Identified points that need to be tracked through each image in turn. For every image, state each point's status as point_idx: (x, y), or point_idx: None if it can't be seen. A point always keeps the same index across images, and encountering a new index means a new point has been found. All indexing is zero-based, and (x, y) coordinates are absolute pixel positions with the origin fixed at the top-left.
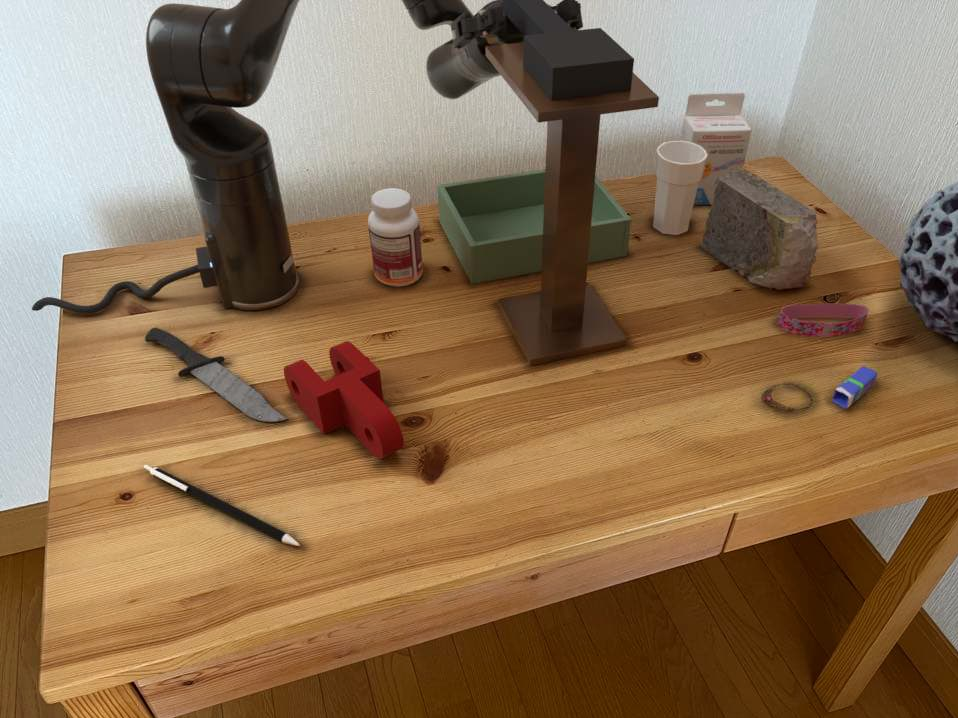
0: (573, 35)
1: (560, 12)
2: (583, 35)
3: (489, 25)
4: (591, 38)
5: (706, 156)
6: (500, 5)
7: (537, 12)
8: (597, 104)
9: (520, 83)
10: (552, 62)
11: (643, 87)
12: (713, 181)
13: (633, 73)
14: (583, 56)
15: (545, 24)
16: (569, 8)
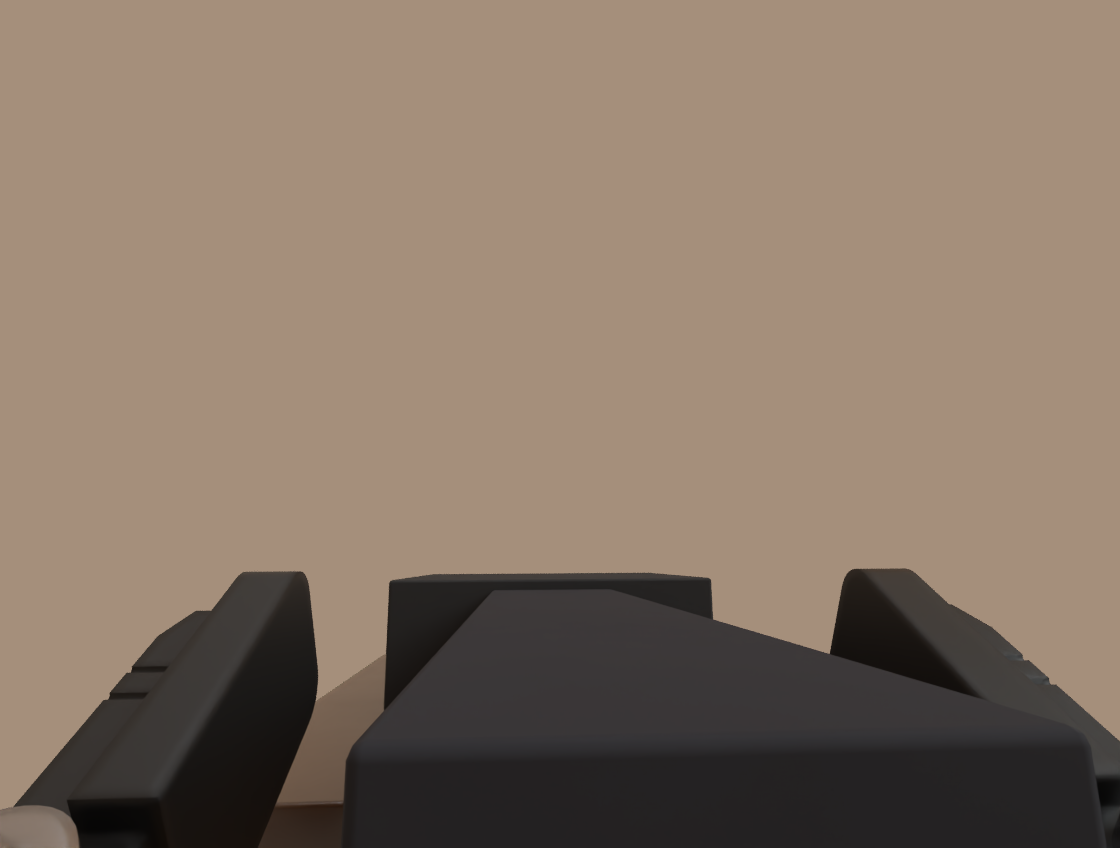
0: (526, 578)
1: (217, 807)
2: (490, 578)
3: None
4: (476, 577)
5: None
6: (858, 575)
7: (595, 605)
8: None
9: None
10: (645, 573)
11: (385, 663)
12: None
13: (349, 679)
14: (554, 574)
15: (595, 594)
16: (309, 640)
